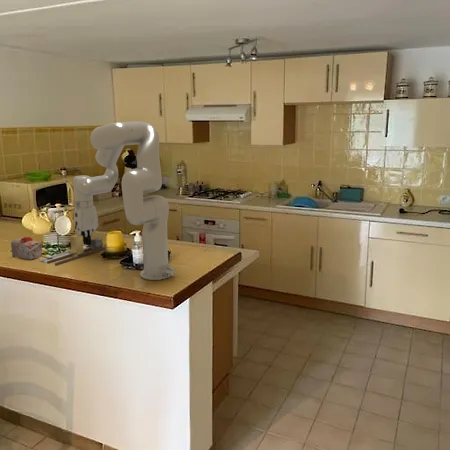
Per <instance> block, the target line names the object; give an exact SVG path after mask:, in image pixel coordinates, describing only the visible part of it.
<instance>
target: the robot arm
mask: <svg viewBox="0 0 450 450" xmlns="http://www.w3.org/2000/svg"><path fill="white" fill-rule="evenodd" d="M89 141H90V144H91V146H92V148H95V150H97V151H96V153H95V155H94V156H95V157H94V158H95V160H96V162H97V163H98V164H99V166H101V167H104V168H106V169H105V171H104V173H103V175H97V176H89V175H85V174H84V175H75V176H74V177H73V180H72V181H73V194H74V203H73V207H75V208H74V213H73V226H74V230H75V235H81V236H82V238H83V246H86V245H91V239H92V235H93V233H94V231H96V230H97V229H98V227H99V218H98V212H97V208H96V206H95V205H94V197H93V196H95V195H100V194H105V193H109V192H111V191H112V190H113V188H114V187H115V185H116V183H117V182H118V179H119V169H118V166H117V161H118V159H119V157H120V156H121V153H122V151H123V149H124V147H125V146H133V145H138V146H139V147H138V149H137V152H136V157H135V158H136V159H135V160H136V167H137V168H133V169H128V170H127V171H126V172H124V173H123V176H122V179H121V192H122V193H121V194H122V200H123V208H124V215H125V218H126V219H127V222H129V224H131V225H134V226H140V225H142V226H143V227H142V231H141V232H142V233H141V234H142V236H141V237H142V244H143V250H142V257H143V270H140V272H139V276H140V278H141V279H144V280H148V281H159V280H166V279H169V278H170V277H173V276H174V274H175V273H176V269H175V268H171V264H170V263H169V250H168V249H169V248H168V247H169V246H168V220H169V213H170V212H169V211H170V206H169V202H168V200H167V199H166V197H164V196H162V195H157V194H155V195H148V196H145V197H144V194H145V195H146V194H149V193H150V194H151V193H154V192H157V191H159V190H160V189H161V188H162V185H163V179H162V178H163V176H162V167H161V160H160V159H161V158H160V136H159V132H158V131H157V128H156V127H155V126H154V125H153V124H151V123H149V122H146V121H138V120H137V121H117V122H112V123H111V122H110V123H108V124H105V125H100V126H98V127H95V128H94V129H93V130H92V131H91V134H90V140H89Z"/></svg>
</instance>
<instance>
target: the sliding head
mask: <svg viewBox="0 0 450 450" xmlns="http://www.w3.org/2000/svg"><path fill="white" fill-rule="evenodd" d="M69 239H70V248H66V249H65V252H67V251H68V252H71V253H72V256H71V258H73V257H76V256H79V255H82V254H85V252H84V250H83V246H84V242H83V236H82V235H81V234H73V235H70V236H69Z"/></svg>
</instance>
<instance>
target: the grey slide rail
mask: <svg viewBox="0 0 450 450" xmlns="http://www.w3.org/2000/svg"><path fill="white" fill-rule="evenodd" d="M105 249H106V250H107V248H106V247H105V246H104V245H103V238H99V237H95V238H91V245H83V250H84V254H82V255H79V256H76V257H72V253H71V252H68V251H64V252H60V253H57V254H54V255H50V256H48V257H45V258H42V259H39V262H41V263H45V264H48V265H49V264H51V263H54V266H56V267H57V266H60V265H63V264H66V263H69V262H72V261H75V260H77V259H81V258H84V257H87V256H90V255H94V254H96V253H99V252H102V251H105ZM61 260H62V261H61Z"/></svg>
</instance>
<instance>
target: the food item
mask: <svg viewBox="0 0 450 450" xmlns="http://www.w3.org/2000/svg"><path fill="white" fill-rule="evenodd" d="M10 244H11V245H10V246H11V253H12V254H11V255H12V258H16V257H17V258H20V259H24V260H29V261H30V260H36V259H40V258H41V257H43V245H42V241H37V240H33V238H32V237H31V236H28V237H27V236H24V237H22V238H21V237H20V238H16V239H13V240H11V241H10Z"/></svg>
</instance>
